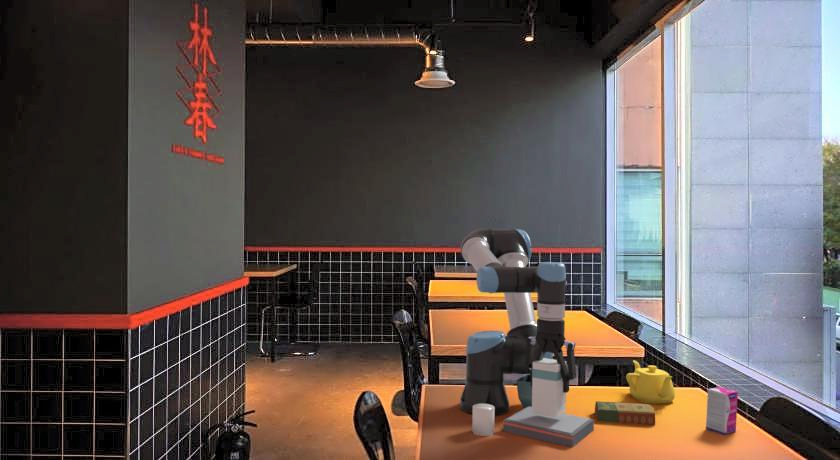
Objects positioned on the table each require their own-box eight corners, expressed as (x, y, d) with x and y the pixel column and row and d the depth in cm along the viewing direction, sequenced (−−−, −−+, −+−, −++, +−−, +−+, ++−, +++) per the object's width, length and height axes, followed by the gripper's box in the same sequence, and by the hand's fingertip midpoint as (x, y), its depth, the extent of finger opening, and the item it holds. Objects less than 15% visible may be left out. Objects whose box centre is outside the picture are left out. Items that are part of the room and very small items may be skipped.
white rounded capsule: (468, 433, 170) (468, 407, 169) (478, 427, 174) (479, 402, 174) (487, 437, 166) (488, 411, 166) (498, 431, 171) (498, 406, 171)
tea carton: (531, 412, 171) (532, 362, 171) (541, 406, 177) (542, 357, 177) (556, 417, 167) (557, 365, 167) (565, 411, 173) (566, 361, 173)
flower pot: (542, 413, 187) (542, 384, 187) (515, 408, 192) (515, 379, 191) (552, 406, 194) (553, 378, 194) (526, 401, 199) (526, 373, 199)
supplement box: (725, 435, 171) (726, 393, 170) (705, 428, 176) (706, 388, 175) (737, 431, 174) (738, 391, 174) (717, 425, 179) (718, 386, 179)
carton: (655, 426, 178) (655, 412, 178) (597, 423, 181) (597, 408, 181) (649, 417, 186) (650, 403, 186) (594, 413, 189) (594, 399, 189)
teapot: (609, 390, 214) (609, 359, 214) (649, 388, 217) (650, 357, 217) (645, 410, 192) (645, 375, 192) (689, 407, 195) (690, 373, 195)
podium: (502, 431, 171) (502, 419, 171) (527, 416, 184) (527, 405, 184) (572, 447, 160) (572, 434, 160) (593, 430, 173) (593, 418, 173)
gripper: (512, 316, 174) (510, 397, 175) (580, 324, 163) (579, 411, 163) (523, 313, 180) (522, 392, 181) (590, 320, 169) (589, 404, 169)
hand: (549, 400), depth 172 cm, fingers closed on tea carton, 7 cm apart
